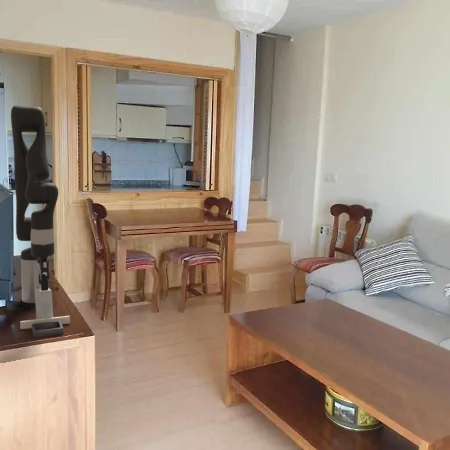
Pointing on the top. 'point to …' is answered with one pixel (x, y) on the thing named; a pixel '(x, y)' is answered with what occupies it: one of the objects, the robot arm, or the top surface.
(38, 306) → the skincare box
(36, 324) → the frame
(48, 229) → the robot arm
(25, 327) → the door edge rail
